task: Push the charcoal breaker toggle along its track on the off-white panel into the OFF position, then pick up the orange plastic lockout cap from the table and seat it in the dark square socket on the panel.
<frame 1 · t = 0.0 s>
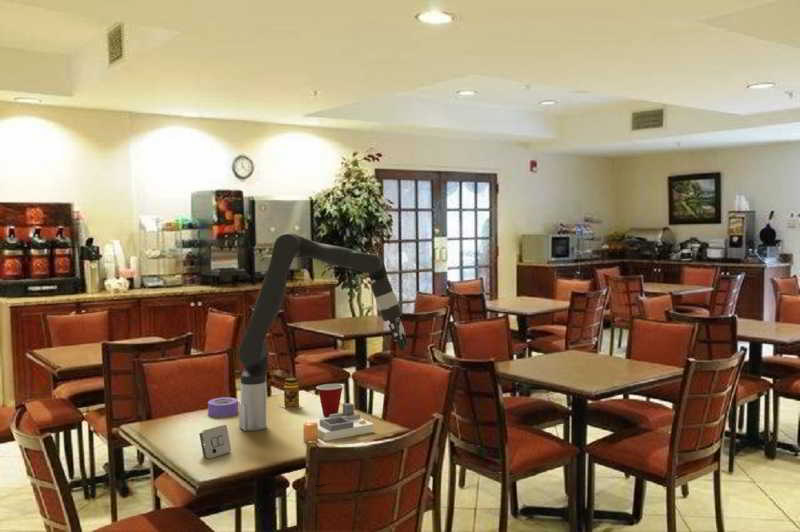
hand: (404, 347, 247), 31 cm above the table, tool tilted 20°, fingers open, 8 cm apart
condiment: (291, 407, 285), on the table
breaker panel: (339, 430, 251), on the table
breaker toggle: (348, 410, 258), point 6 cm above the table, slide at 0.0 cm
lockout cap: (310, 440, 240), on the table
plastic cup: (330, 415, 273), on the table
electrical switch: (214, 455, 225), on the table
tape roll: (223, 413, 276), on the table
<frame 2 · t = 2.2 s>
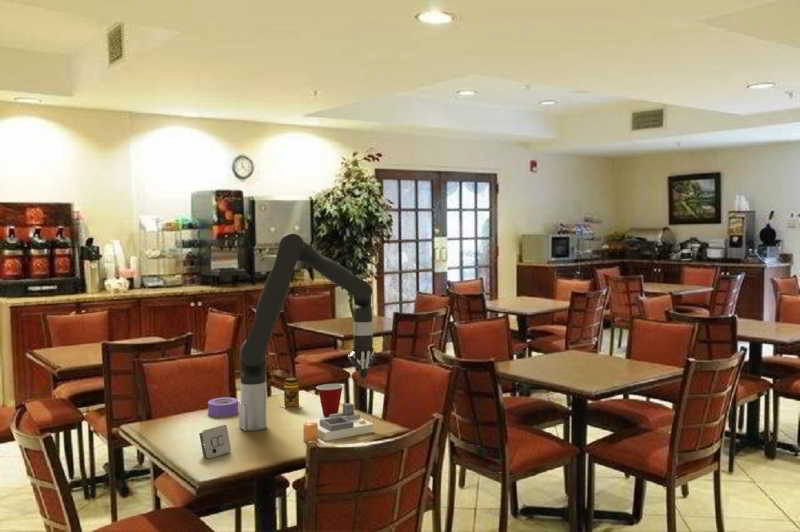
hand: (363, 378, 261), 17 cm above the table, tool pointing down, fingers closed
nothing on the table moved.
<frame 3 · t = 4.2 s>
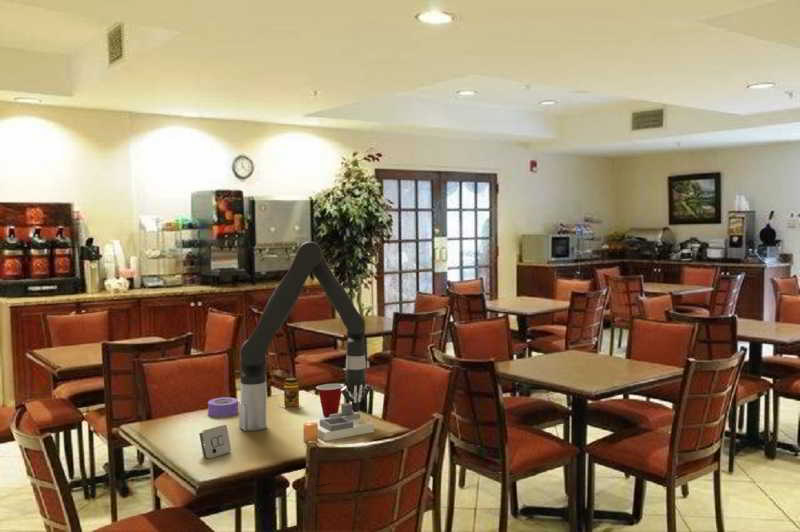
hand: (355, 411, 260), 5 cm above the table, tool pointing down, fingers closed
breaker toggle: (346, 411, 257), point 6 cm above the table, slide at 0.6 cm, touching gripper
everything else where it was.
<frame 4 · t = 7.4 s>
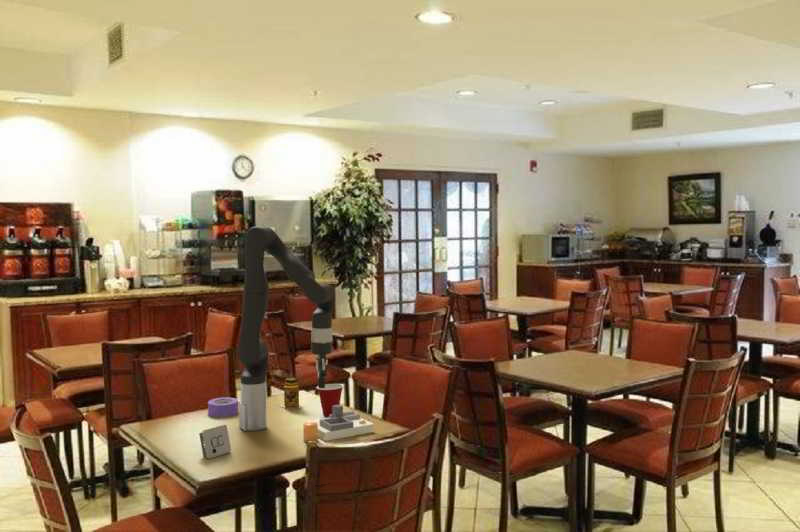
hand: (321, 387, 245), 17 cm above the table, tool pointing down, fingers closed
breaker toggle: (337, 412, 255), point 6 cm above the table, slide at 4.6 cm
everything else where it was.
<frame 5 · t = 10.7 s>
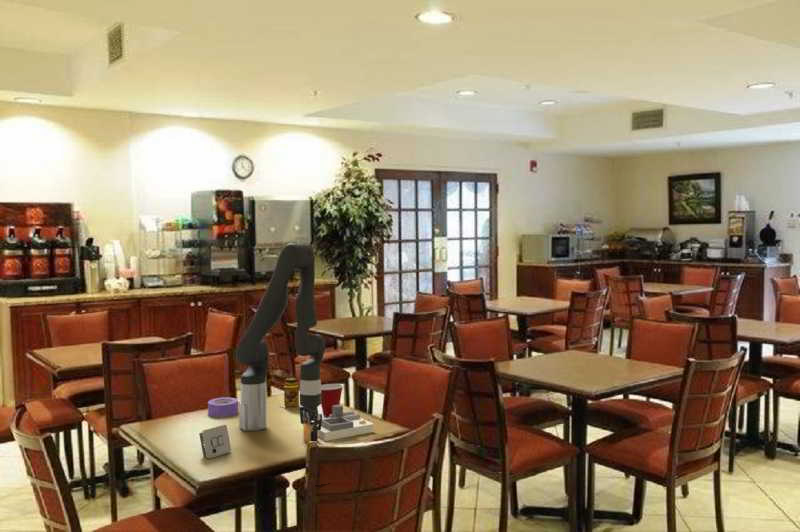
hand: (310, 439, 240), 1 cm above the table, tool pointing down, fingers closed on lockout cap, 5 cm apart
lockout cap: (310, 440, 240), on the table, touching gripper
everything else where it was.
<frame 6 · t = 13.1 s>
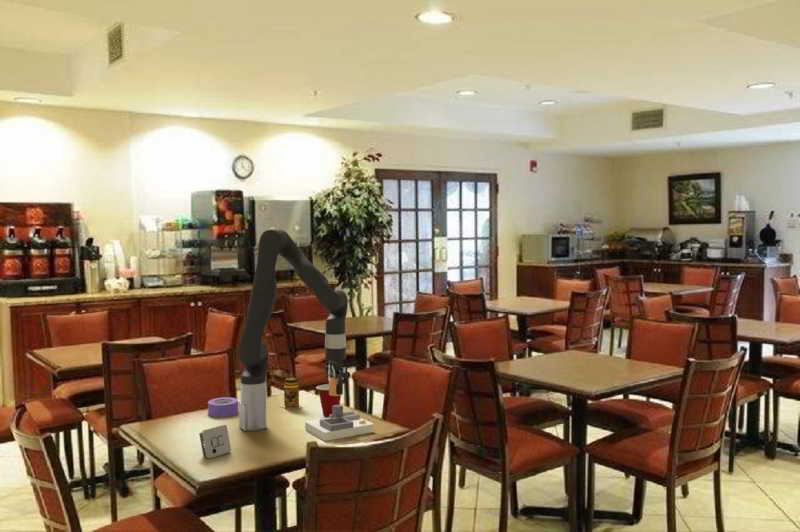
hand: (336, 392, 246), 16 cm above the table, tool pointing down, fingers closed on lockout cap, 5 cm apart
lockout cap: (336, 394, 246), point 15 cm above the table, touching gripper
everything else where it was.
when the fingers open (6 cm above the table, at t = 15.3 s): lockout cap drops 2 cm, resting on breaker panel.
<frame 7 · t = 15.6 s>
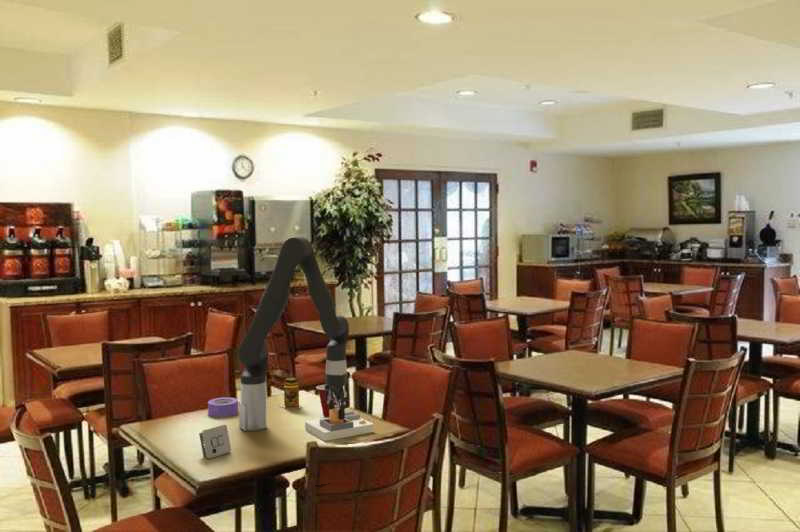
hand: (336, 416, 246), 7 cm above the table, tool pointing down, fingers open, 7 cm apart
lockout cap: (336, 426, 247), point 3 cm above the table, touching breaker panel
everything else where it was.
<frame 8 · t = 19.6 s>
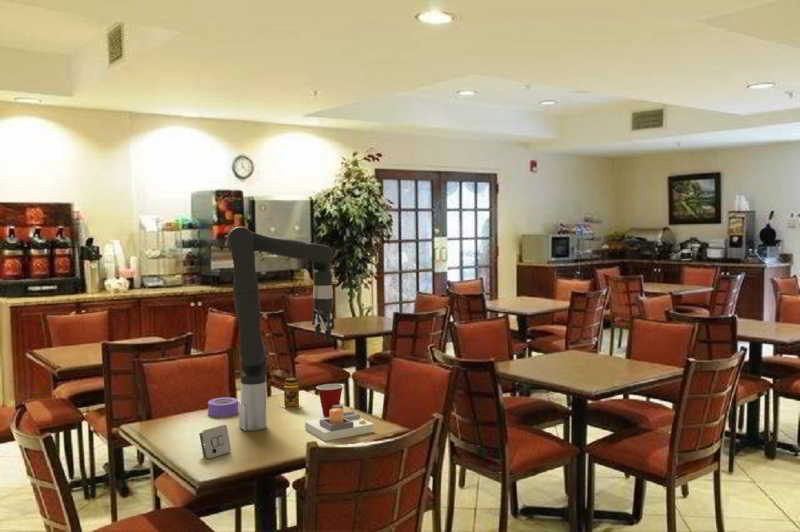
hand: (323, 338, 263), 32 cm above the table, tool pointing down, fingers open, 8 cm apart
nothing on the table moved.
at the end: breaker toggle slide at 4.6 cm; lockout cap 0.1 cm from the target spot on the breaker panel, point 3.0 cm above the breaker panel's base; lockout cap tilted 0° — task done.
